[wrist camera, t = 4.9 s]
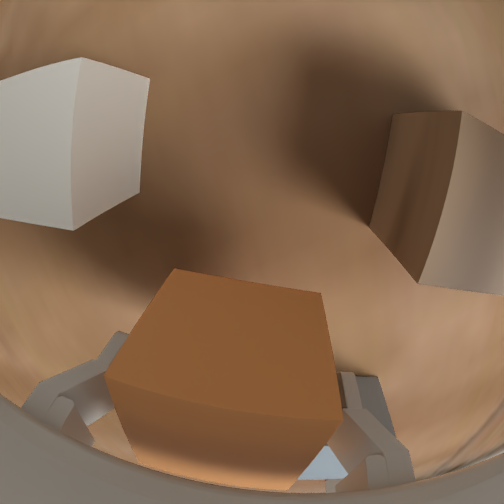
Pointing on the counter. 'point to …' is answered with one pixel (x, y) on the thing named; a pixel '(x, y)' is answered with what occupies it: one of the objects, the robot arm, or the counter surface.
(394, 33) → the counter surface
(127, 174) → the grey cube
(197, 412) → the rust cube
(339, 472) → the slate cube
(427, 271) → the walnut cube
